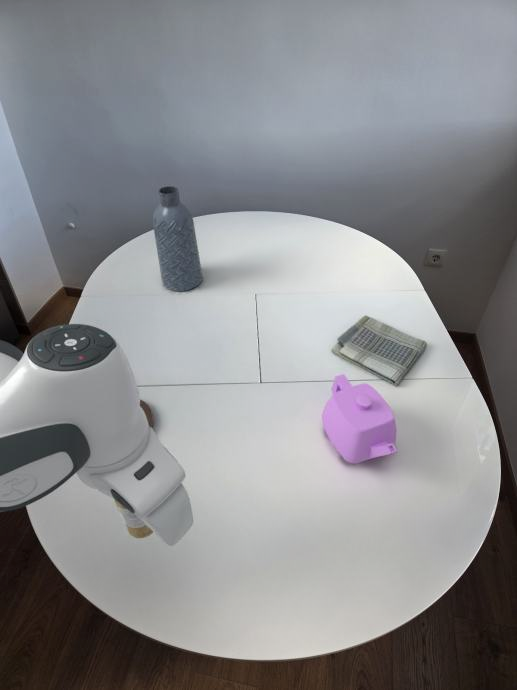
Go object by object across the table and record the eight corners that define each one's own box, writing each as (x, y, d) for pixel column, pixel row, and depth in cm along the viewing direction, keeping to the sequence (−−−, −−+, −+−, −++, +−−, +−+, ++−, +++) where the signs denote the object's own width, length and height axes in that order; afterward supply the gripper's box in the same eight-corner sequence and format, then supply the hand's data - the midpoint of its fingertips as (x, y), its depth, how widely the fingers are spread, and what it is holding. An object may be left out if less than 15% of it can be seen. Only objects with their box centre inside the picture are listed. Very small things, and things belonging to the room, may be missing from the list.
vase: (192, 295, 125) (179, 202, 106) (155, 288, 128) (135, 196, 109) (208, 273, 134) (199, 183, 115) (173, 266, 137) (158, 178, 117)
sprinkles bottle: (132, 507, 63) (110, 455, 54) (163, 509, 63) (146, 458, 53) (122, 538, 59) (97, 489, 50) (154, 541, 59) (135, 492, 50)
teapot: (306, 413, 93) (310, 373, 85) (356, 396, 97) (365, 356, 88) (354, 493, 80) (365, 455, 71) (410, 470, 83) (427, 431, 74)
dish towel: (428, 346, 108) (431, 337, 106) (395, 388, 98) (398, 379, 96) (362, 317, 117) (364, 308, 115) (327, 353, 107) (328, 344, 105)
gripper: (36, 417, 51) (70, 478, 61) (149, 523, 42) (169, 577, 51) (82, 387, 55) (108, 449, 64) (196, 478, 45) (206, 535, 55)
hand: (136, 506), depth 57 cm, fingers closed on sprinkles bottle, 4 cm apart
